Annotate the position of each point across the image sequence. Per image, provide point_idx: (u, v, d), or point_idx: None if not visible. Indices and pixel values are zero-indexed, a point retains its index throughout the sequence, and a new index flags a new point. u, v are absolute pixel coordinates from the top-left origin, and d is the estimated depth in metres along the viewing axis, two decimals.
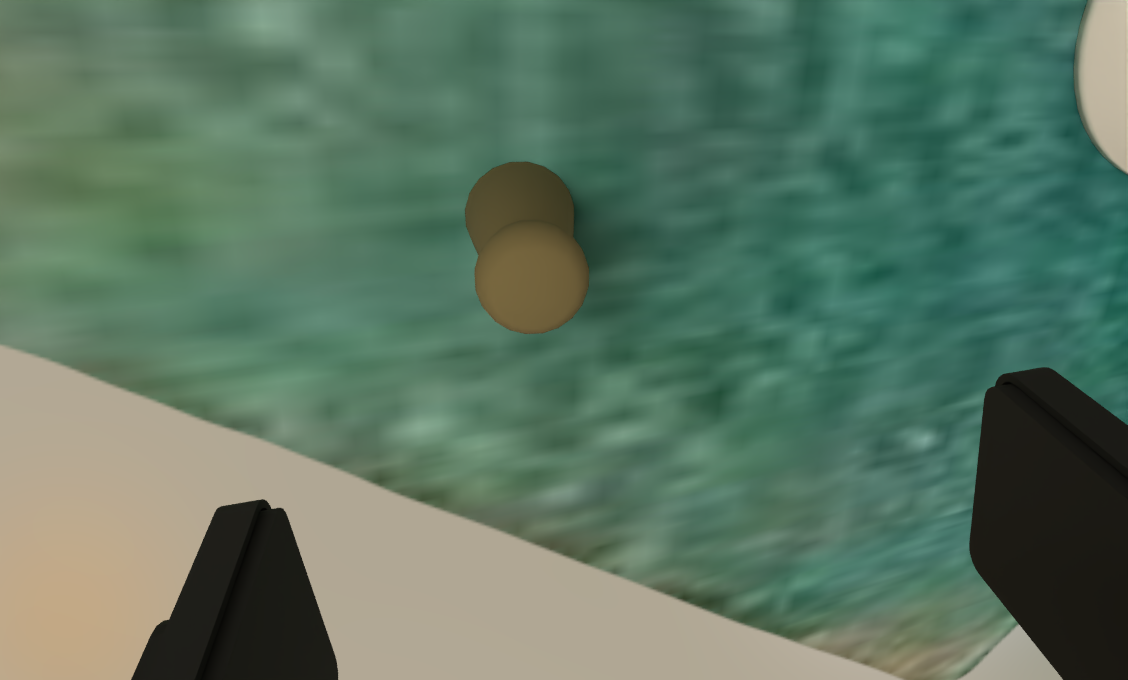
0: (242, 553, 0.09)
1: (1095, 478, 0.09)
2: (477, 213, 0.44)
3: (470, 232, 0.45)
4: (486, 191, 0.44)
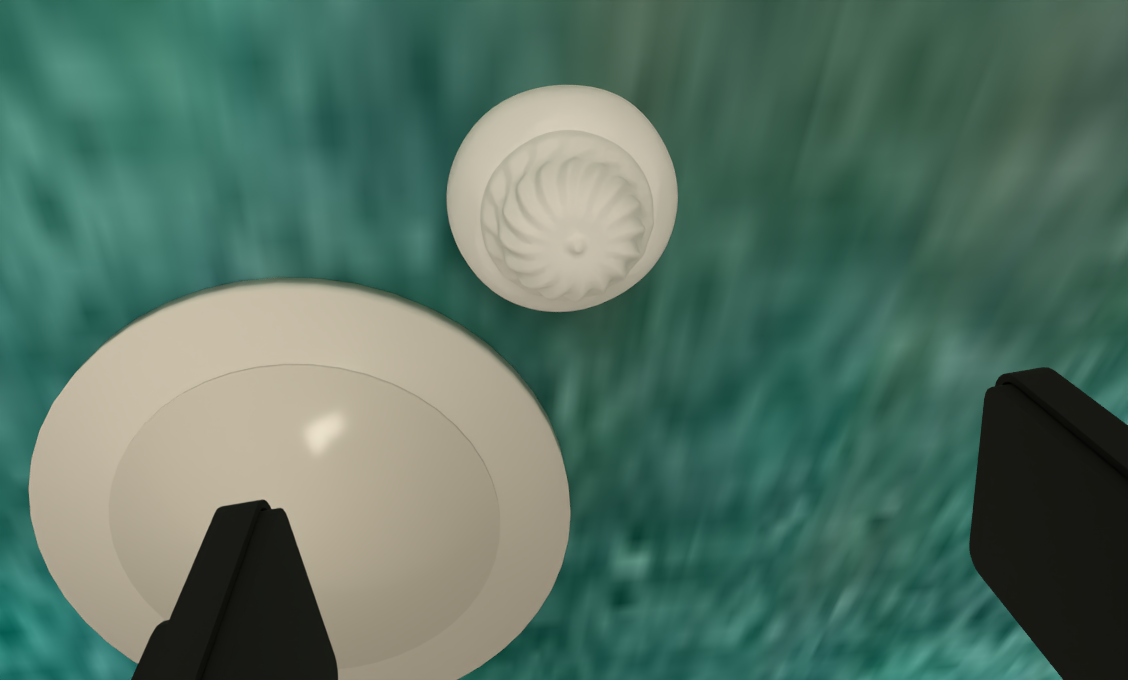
0: (242, 553, 0.09)
1: (1094, 478, 0.09)
2: None
3: None
4: None
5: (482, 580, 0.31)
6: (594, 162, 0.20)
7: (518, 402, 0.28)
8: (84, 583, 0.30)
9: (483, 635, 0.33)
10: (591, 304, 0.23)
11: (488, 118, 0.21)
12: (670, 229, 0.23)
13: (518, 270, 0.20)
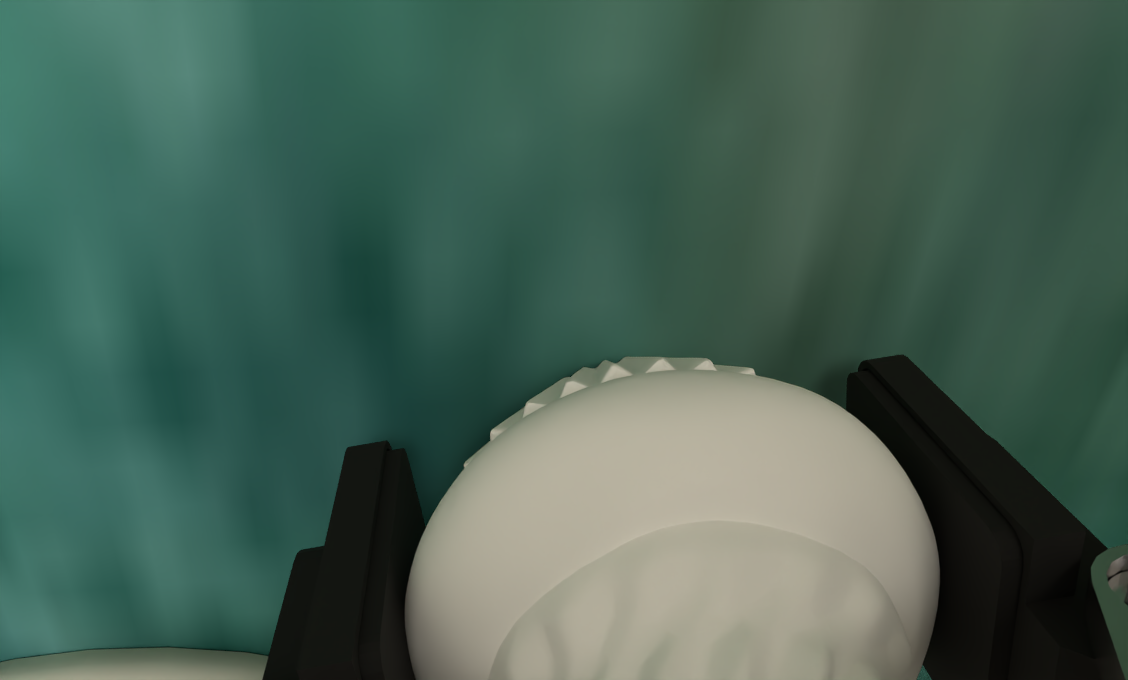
0: (379, 485, 0.10)
1: (921, 454, 0.10)
2: None
3: None
4: None
5: None
6: (796, 636, 0.07)
7: None
8: None
9: None
10: None
11: (504, 469, 0.08)
12: None
13: None
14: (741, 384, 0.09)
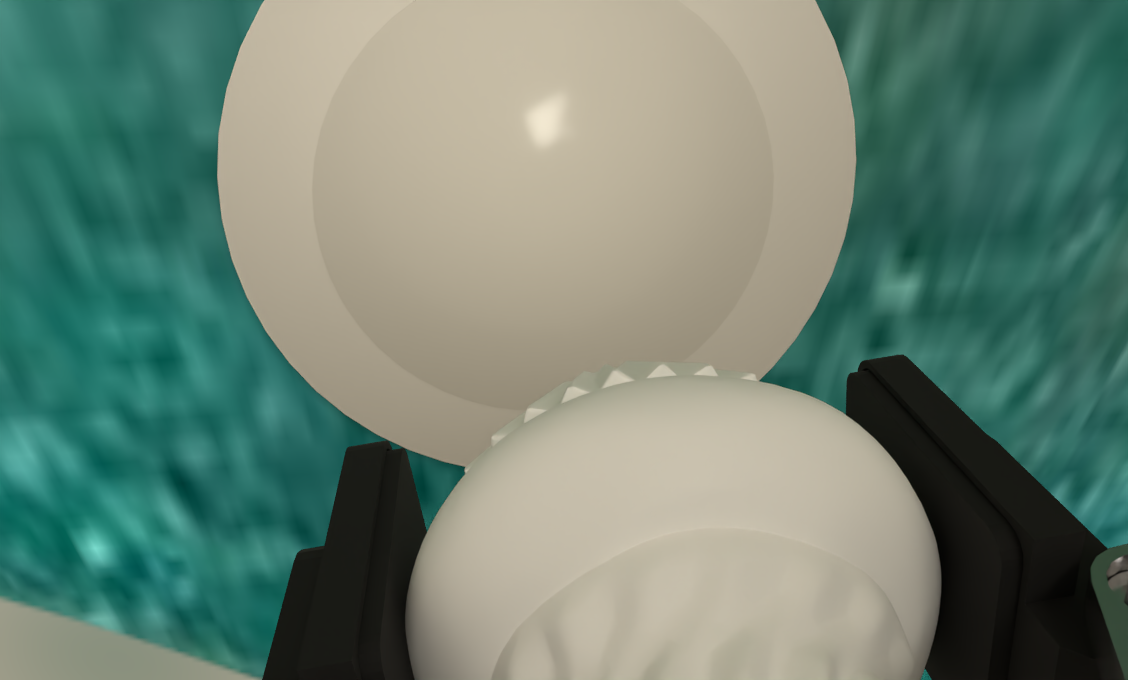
0: (379, 484, 0.10)
1: (921, 454, 0.10)
2: None
3: None
4: None
5: (740, 289, 0.26)
6: (799, 643, 0.07)
7: (815, 32, 0.23)
8: (271, 276, 0.24)
9: None
10: None
11: (505, 476, 0.08)
12: (920, 677, 0.10)
13: None
14: (743, 390, 0.09)
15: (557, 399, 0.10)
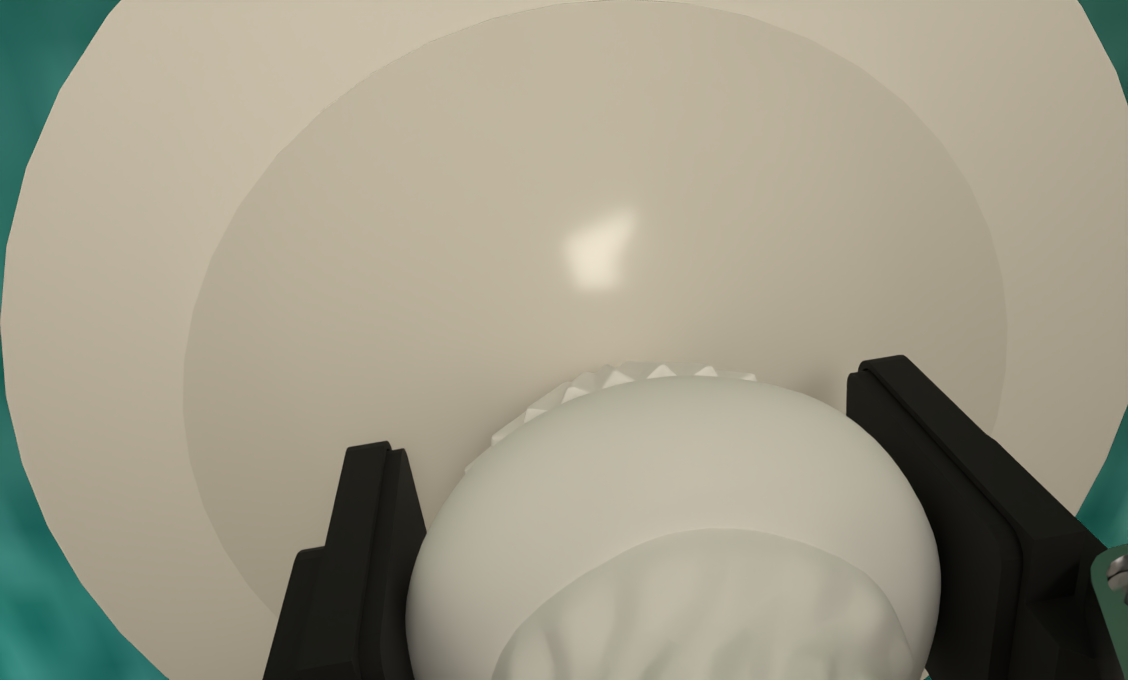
0: (379, 484, 0.10)
1: (920, 454, 0.10)
2: None
3: None
4: None
5: None
6: (798, 644, 0.07)
7: (1108, 127, 0.13)
8: (121, 550, 0.14)
9: None
10: None
11: (505, 476, 0.08)
12: None
13: None
14: (742, 391, 0.09)
15: (557, 399, 0.11)
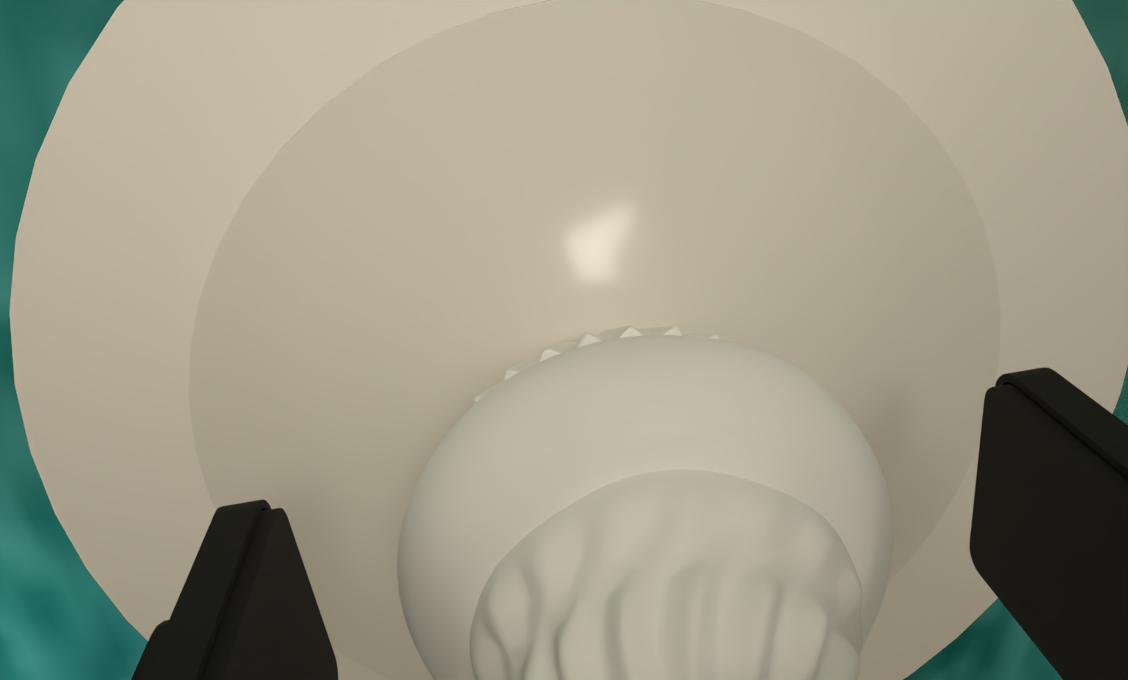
0: (242, 553, 0.09)
1: (1095, 478, 0.09)
2: None
3: None
4: None
5: (922, 532, 0.16)
6: (749, 569, 0.08)
7: (1100, 121, 0.13)
8: (128, 538, 0.14)
9: (887, 644, 0.17)
10: None
11: (484, 428, 0.09)
12: (877, 614, 0.11)
13: None
14: (701, 346, 0.09)
15: (536, 364, 0.11)
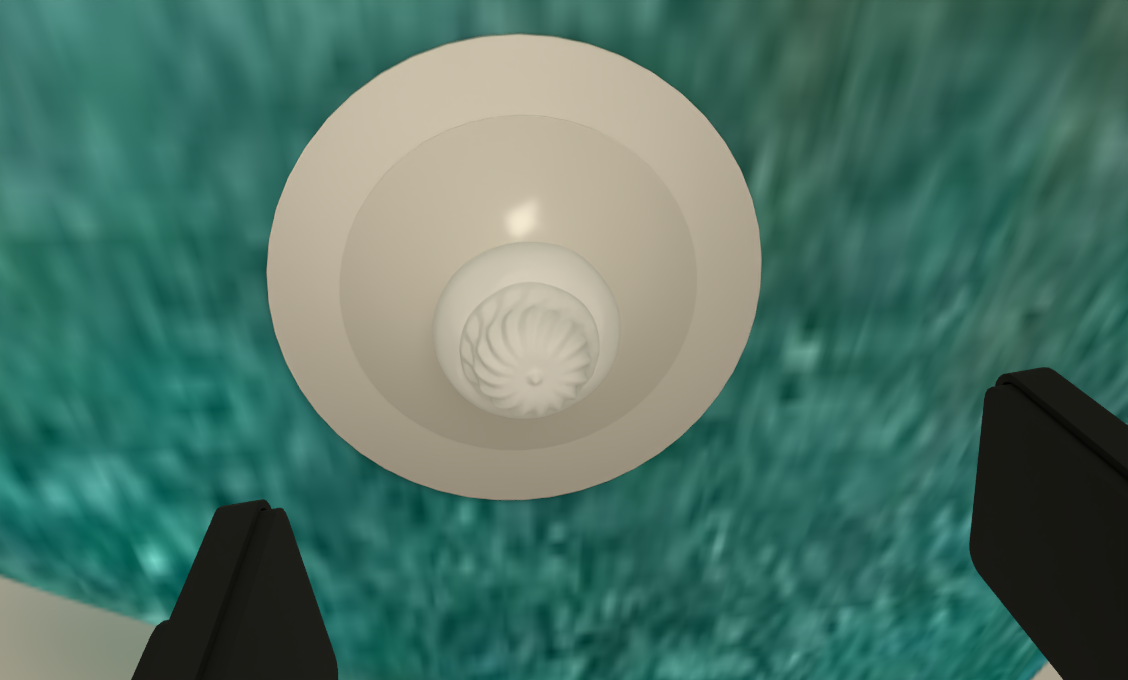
0: (242, 553, 0.09)
1: (1095, 478, 0.09)
2: None
3: None
4: None
5: (673, 355, 0.33)
6: (549, 309, 0.25)
7: (726, 164, 0.30)
8: (305, 346, 0.31)
9: (665, 419, 0.34)
10: (552, 412, 0.28)
11: (464, 271, 0.27)
12: (615, 352, 0.28)
13: (490, 396, 0.26)
14: (541, 244, 0.27)
15: None
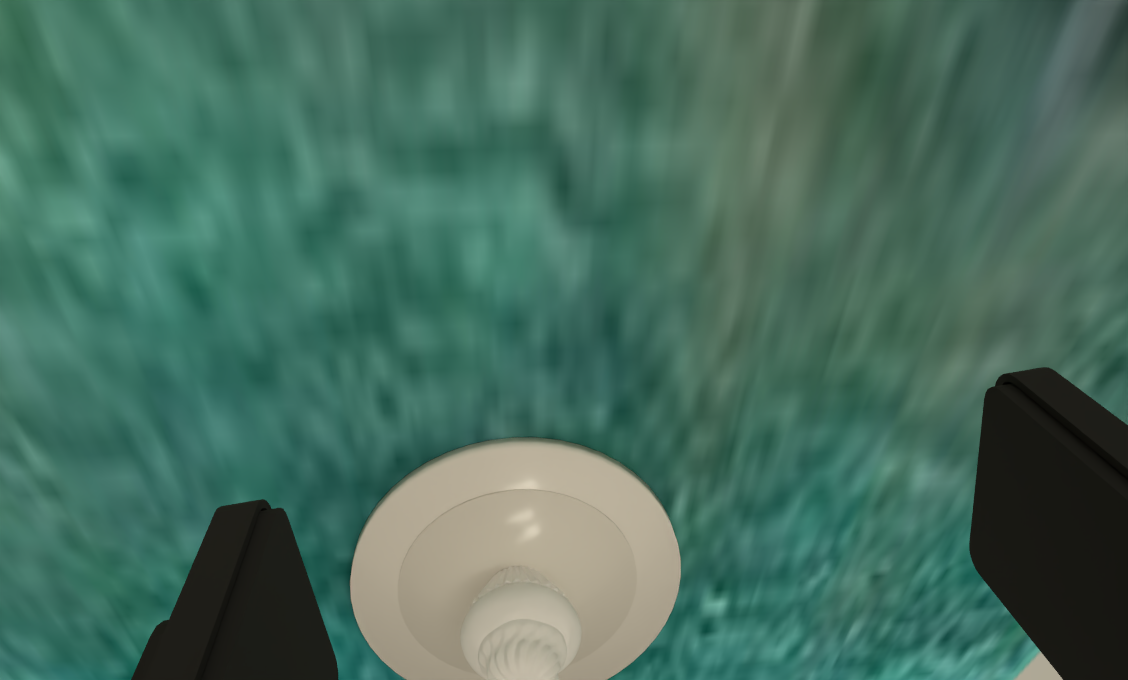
0: (242, 553, 0.09)
1: (1095, 478, 0.09)
2: None
3: None
4: None
5: (622, 618, 0.48)
6: (533, 640, 0.41)
7: (653, 509, 0.45)
8: (374, 622, 0.47)
9: (619, 654, 0.50)
10: None
11: (480, 608, 0.42)
12: (577, 647, 0.43)
13: None
14: (529, 589, 0.42)
15: (494, 583, 0.44)
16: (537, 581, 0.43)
